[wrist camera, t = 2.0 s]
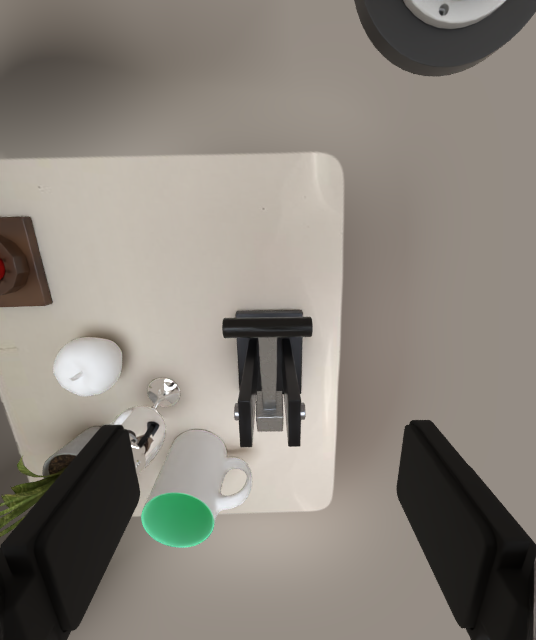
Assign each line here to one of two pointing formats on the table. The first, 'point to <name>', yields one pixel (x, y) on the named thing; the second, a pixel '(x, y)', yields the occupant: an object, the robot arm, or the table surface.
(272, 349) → the lever
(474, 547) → the robot arm
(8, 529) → the house plant
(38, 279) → the button block
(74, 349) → the plain white apple
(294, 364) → the bracket
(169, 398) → the wineglass
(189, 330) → the table surface
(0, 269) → the button
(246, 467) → the mug
